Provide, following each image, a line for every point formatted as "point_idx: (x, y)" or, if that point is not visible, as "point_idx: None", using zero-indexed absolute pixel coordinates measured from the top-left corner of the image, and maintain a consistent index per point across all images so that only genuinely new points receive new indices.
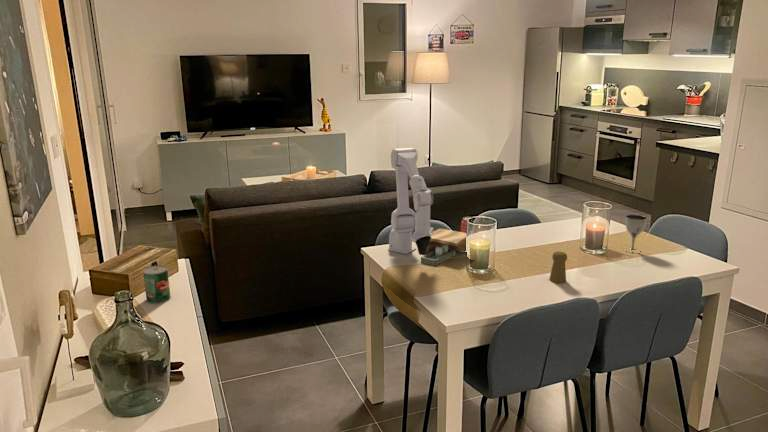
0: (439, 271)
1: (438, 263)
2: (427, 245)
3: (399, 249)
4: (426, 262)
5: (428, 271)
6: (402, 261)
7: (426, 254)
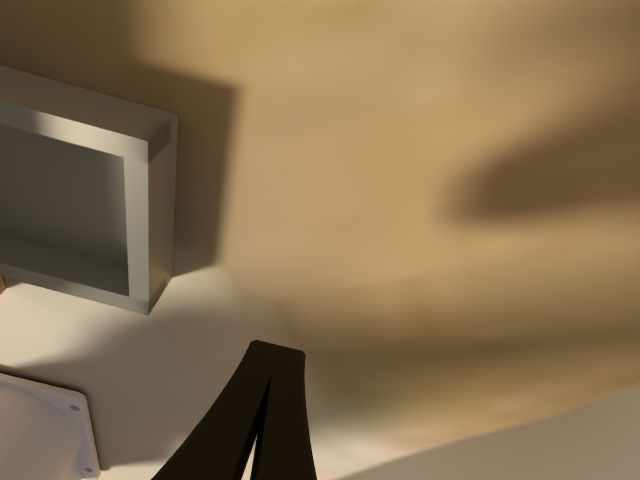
0: (364, 3)
1: (109, 99)
2: (171, 464)
3: (74, 448)
4: (169, 232)
5: (407, 152)
6: None
7: (38, 284)
